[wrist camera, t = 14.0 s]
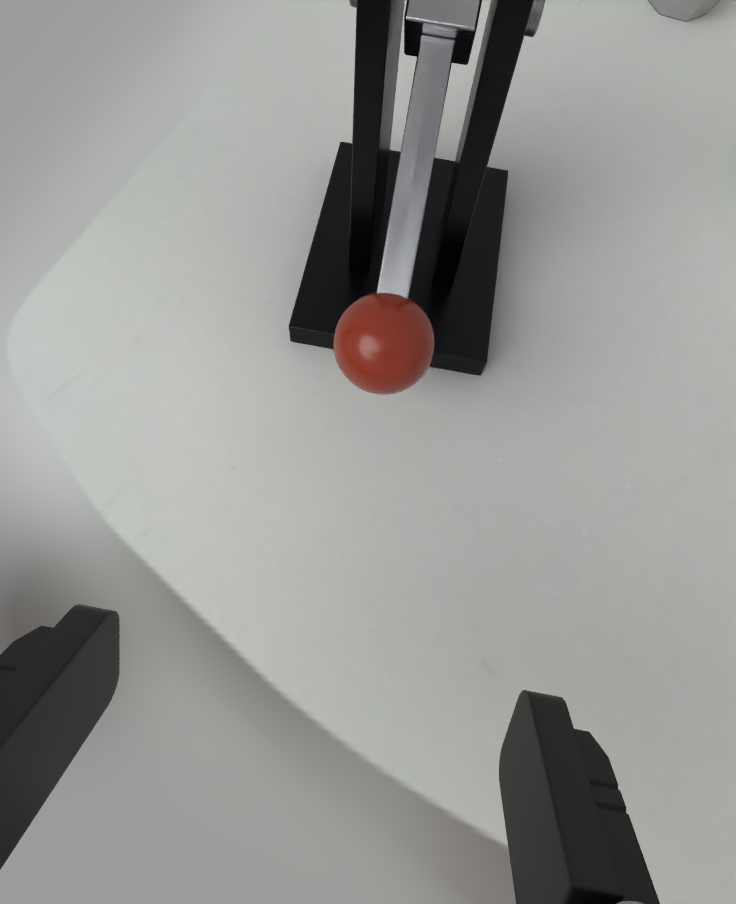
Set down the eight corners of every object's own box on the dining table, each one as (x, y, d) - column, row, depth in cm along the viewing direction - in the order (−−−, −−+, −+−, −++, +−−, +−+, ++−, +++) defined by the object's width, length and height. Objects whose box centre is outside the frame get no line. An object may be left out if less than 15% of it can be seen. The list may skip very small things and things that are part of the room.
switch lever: (422, 396, 23) (425, 409, 19) (332, 380, 23) (319, 389, 19) (503, -14, 20) (524, -89, 16) (398, -31, 20) (397, -109, 16)
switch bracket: (480, 376, 27) (610, 88, 14) (290, 341, 27) (250, 27, 14) (502, 188, 32) (614, -154, 19) (340, 160, 32) (343, -197, 19)
